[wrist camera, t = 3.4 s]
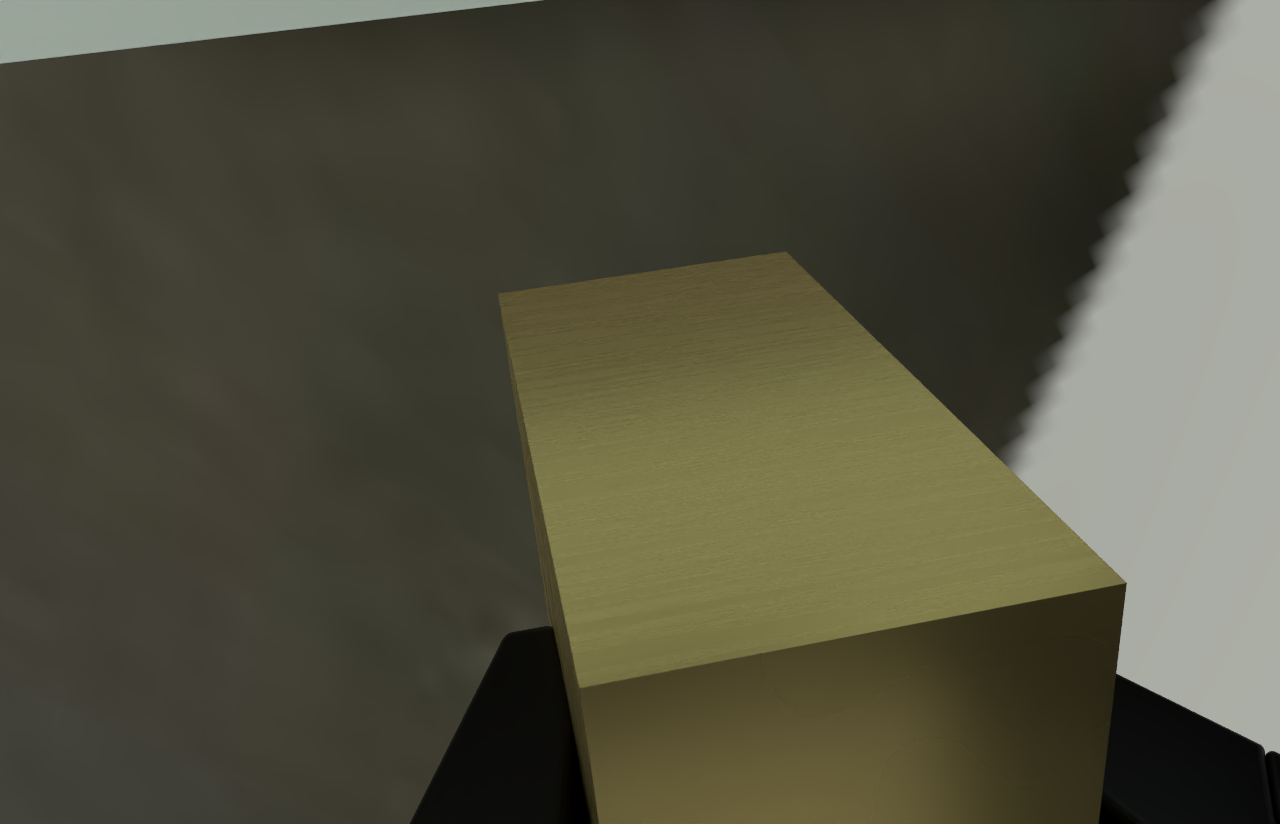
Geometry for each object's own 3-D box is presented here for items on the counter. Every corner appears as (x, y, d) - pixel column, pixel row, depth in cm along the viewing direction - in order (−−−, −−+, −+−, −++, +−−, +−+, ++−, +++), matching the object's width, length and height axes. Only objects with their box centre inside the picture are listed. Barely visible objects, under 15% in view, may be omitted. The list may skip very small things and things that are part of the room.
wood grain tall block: (804, 757, 12) (1044, 1291, 7) (577, 803, 11) (681, 1389, 7) (785, 251, 9) (1127, 582, 5) (498, 295, 9) (578, 687, 5)
